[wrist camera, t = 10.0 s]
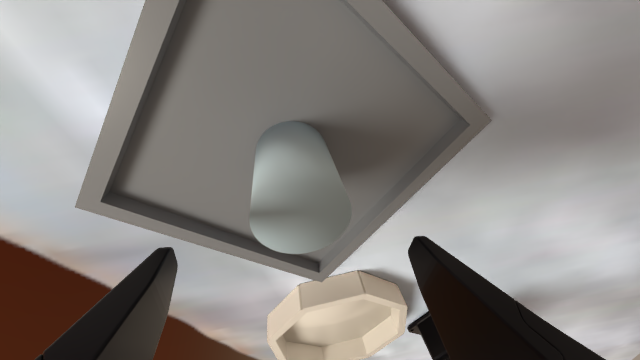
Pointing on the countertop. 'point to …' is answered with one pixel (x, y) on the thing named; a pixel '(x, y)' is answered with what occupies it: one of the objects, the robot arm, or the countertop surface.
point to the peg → (296, 191)
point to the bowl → (337, 319)
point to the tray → (271, 118)
